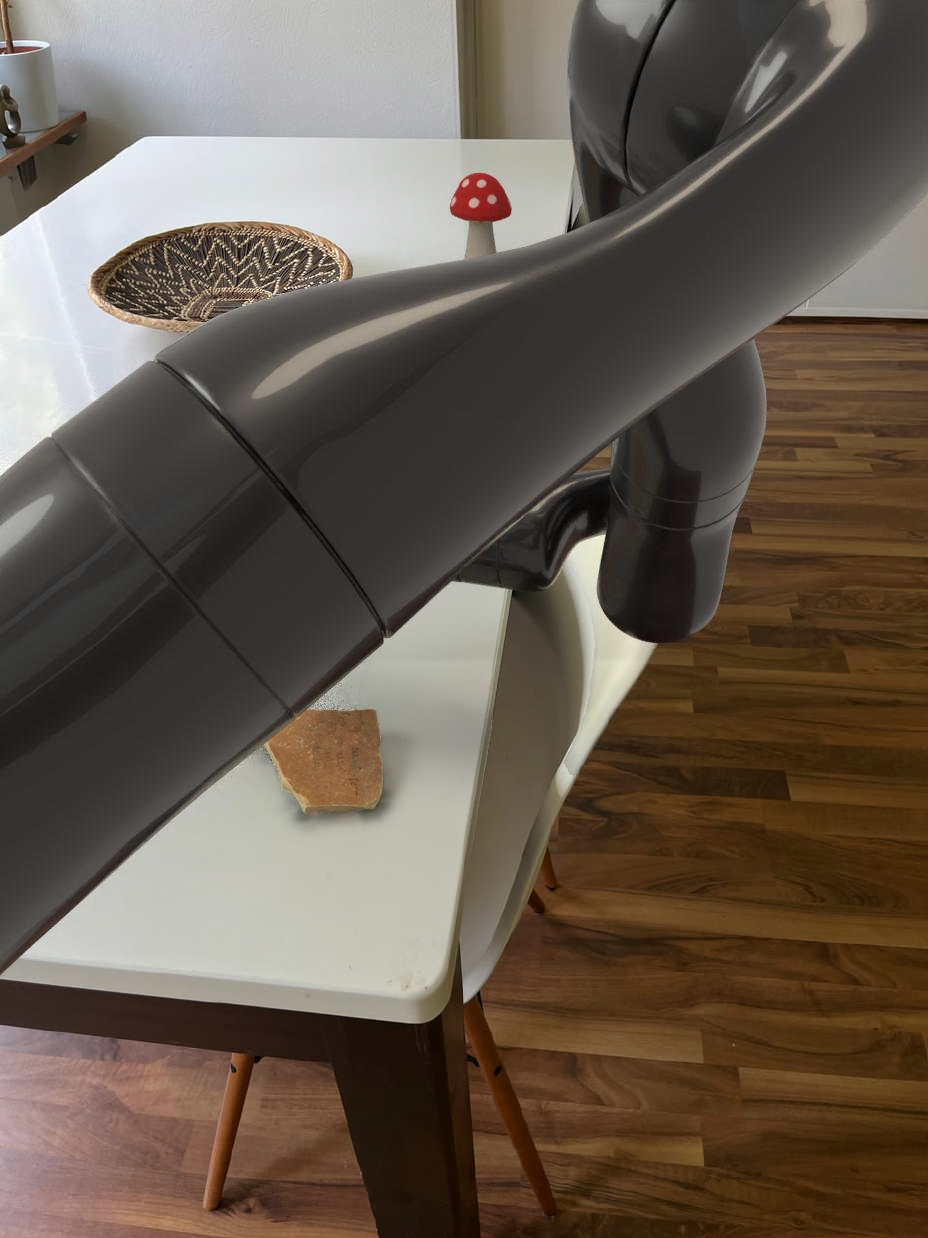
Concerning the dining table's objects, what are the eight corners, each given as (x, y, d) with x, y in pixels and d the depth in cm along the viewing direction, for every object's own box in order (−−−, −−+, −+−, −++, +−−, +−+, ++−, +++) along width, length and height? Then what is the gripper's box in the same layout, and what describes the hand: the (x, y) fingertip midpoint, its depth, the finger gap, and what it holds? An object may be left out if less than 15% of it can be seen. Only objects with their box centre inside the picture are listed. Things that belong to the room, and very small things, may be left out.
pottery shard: (252, 726, 75) (247, 701, 73) (373, 707, 76) (370, 682, 75) (257, 831, 67) (251, 806, 65) (392, 808, 68) (390, 782, 66)
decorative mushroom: (523, 274, 155) (524, 172, 146) (487, 289, 150) (486, 184, 141) (475, 261, 160) (474, 162, 151) (439, 275, 155) (435, 173, 146)
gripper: (432, 413, 65) (201, 389, 69) (354, 525, 54) (85, 489, 58) (437, 511, 70) (220, 483, 74) (366, 632, 59) (116, 592, 63)
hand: (162, 486), depth 66 cm, fingers closed on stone, 4 cm apart
